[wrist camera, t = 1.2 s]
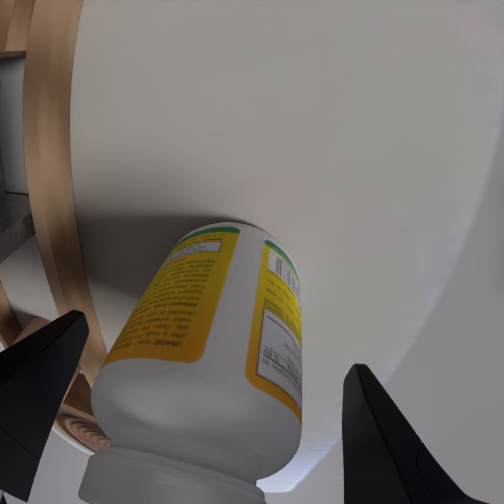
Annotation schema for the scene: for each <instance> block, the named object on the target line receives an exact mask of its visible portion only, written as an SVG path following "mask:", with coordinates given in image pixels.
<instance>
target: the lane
mask: <svg viewBox="0 0 504 504" xmlns="http://www.w3.org/2000/svg"><path fill="white" fill-rule="evenodd" d="M82 2H83V0H0V58H6V57H18V56H26V60H25V70H24V85H23V142H24V157H25V168H26V177H27V185H28V193H29V199H30V206H31V212H32V217H33V222H34V227H35V232H36V237H37V241H38V246H39V250H40V254H41V258H42V262H43V265H44V269H45V273H46V276H47V279H48V283H49V286H50V289H51V292H52V295H53V299H54V302H55V304H56V307H57V310H58V313H59V316H60V317H61V316H62V315H64V314H66V313H68V312H69V311H71V310H74V309H75V310H79V311H82V312H84V314H85V316H86V319H87V322H88V326H89V336H88V339H87V341H86V344H85V347H84V350H83V352H82V355H81V358H80V361H79V364H80V367H81V369H82V371H83V373H84V375H85V376H84V375H82V374H79V373H78V375H77V377H76V379H75V381H74V382H73V384H72V386H71V388H70V390H69V392H68V393H67V395H66V397H65V399H64V401H63V403H62V405H61V407H62V408H64V409H66V410H68V411H70V412H73V413H75V414H77V415H79V416H82V417H84V418H86V419H89V420H91V421H93V422H96V423H97V421H96V419H95V417H94V414H93V411H92V406H91V390H92V387H93V383H94V381H95V378H96V376H97V374H98V372H99V370H100V368H101V366H102V365H103V363H104V361H105V359H106V358H107V356H108V354H107V351H106V348H105V345H104V342H103V338H102V335H101V332H100V328H99V325H98V322H97V318H96V314H95V311H94V307H93V303H92V299H91V295H90V291H89V286H88V282H87V278H86V273H85V268H84V263H83V258H82V253H81V247H80V241H79V235H78V228H77V222H76V214H75V206H74V197H73V186H72V174H71V157H70V95H71V79H72V67H73V58H74V49H75V42H76V35H77V29H78V23H79V17H80V12H81V7H82ZM21 332H22V331H21V329H20V327H19V325H18V322H17V320H16V318H15V316H14V314H13V311H12V309H11V307H10V305H9V302H8V300H7V297H6V295H5V292H4V290H3V287H2V285H1V282H0V341H1V342H2V344H3V346H4V348H5V349H7V348H8V347H10V346H11V345H12V344H13V343H14V341H15V340H16V339H17V337H18V336H19V335H20V334H21Z"/></svg>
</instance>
